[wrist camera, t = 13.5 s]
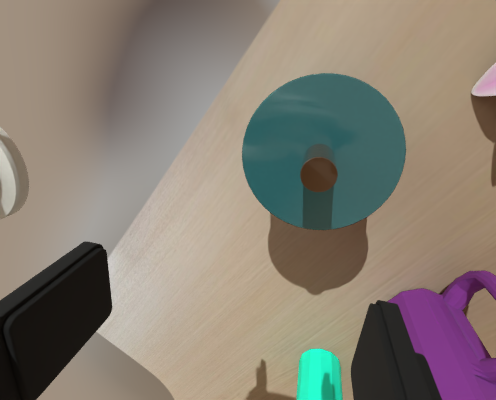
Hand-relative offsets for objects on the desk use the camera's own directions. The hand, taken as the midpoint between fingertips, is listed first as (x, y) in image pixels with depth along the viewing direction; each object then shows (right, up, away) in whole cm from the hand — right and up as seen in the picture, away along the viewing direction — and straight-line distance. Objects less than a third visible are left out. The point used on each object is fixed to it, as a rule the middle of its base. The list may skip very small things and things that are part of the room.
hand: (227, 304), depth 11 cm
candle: (+11, -21, +36) cm, 43 cm away
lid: (+6, +7, +14) cm, 17 cm away
